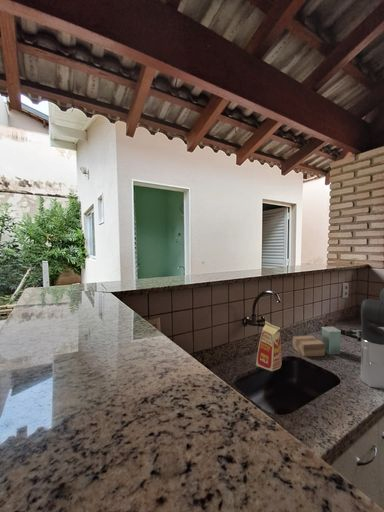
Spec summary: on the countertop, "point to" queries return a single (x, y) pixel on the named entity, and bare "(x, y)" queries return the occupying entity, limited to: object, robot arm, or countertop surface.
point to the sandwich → (308, 346)
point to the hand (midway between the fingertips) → (351, 336)
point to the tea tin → (331, 339)
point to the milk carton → (269, 348)
